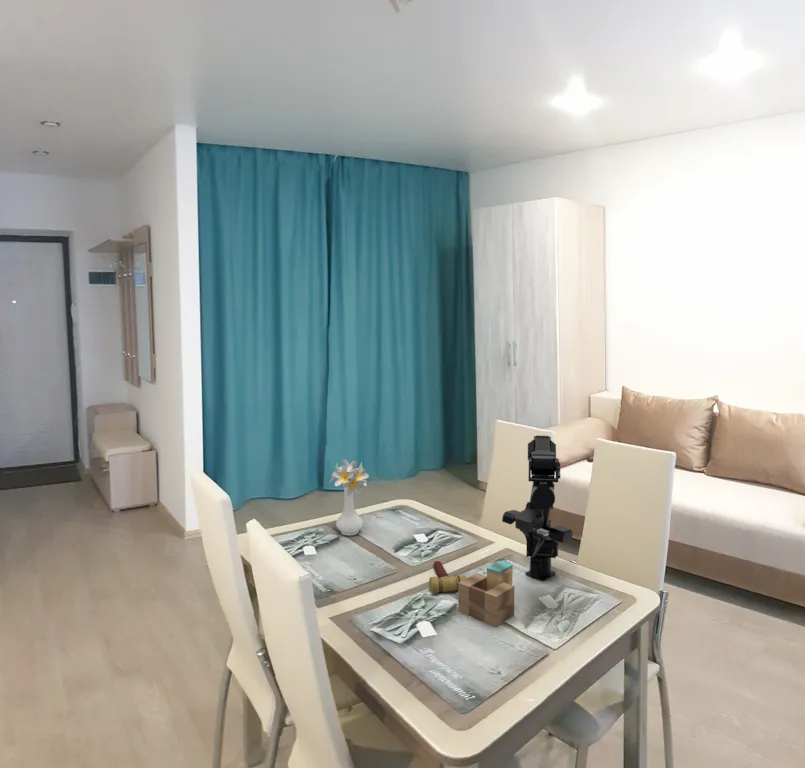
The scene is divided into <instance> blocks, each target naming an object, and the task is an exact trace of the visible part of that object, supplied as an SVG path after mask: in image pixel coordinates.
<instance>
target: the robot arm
mask: <svg viewBox="0 0 805 768" xmlns="http://www.w3.org/2000/svg"><path fill="white" fill-rule="evenodd" d="M527 461H528V482H532V487H531V491H530V492H531V493H530V498H529V501H527V502H526V504H525V508H524V510H521V511H518V510H517V509H512V510H507V511H505V512H504V513H502V519H501V523H502V522H503V523H506V524H508V525H513V524H514V523H515V525H514V526H515V529H517V530H518V531H520V532H522V534H523V535H524V538H525V540H526V557H527V558H529V557H530V558H529V559H530V560H529V561H530V562H529V570H528V571H527V572H525V576H528V577H532V578H534V579H537V580H540V581H543V582H544V581H547V580H548V579H550V578H551V577H553V576H555V575H556V572H555V571H552V559H557V557H559V543H566V542H570V541H572V540H573V537H574V536H573V535H574V534H573V530H572V529H571V528H568V527H566V526H563V525H556V526H551V524H552V520H551V519H550V516H551V510H553V509H554V504H555V503H556V495H555V483H559V479H560V480H561V462H560V461H559V459H558V457H557V444H556V443H555V442H553V440H552V437H551V436H550V435H535V436H533V440H531V441H530V442H528V443H527Z"/></svg>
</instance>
